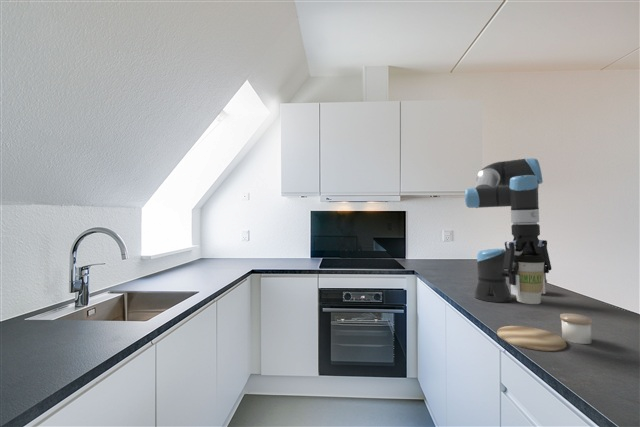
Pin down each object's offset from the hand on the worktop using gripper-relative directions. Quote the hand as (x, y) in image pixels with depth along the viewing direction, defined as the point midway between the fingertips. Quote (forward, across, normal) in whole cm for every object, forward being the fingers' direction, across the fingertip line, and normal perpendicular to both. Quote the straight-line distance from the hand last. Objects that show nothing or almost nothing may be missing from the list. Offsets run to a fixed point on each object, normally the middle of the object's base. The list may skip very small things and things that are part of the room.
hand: (528, 293), depth 95 cm
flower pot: (+15, +49, +45) cm, 68 cm away
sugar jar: (+14, +13, -4) cm, 20 cm away
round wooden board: (+14, 0, 0) cm, 14 cm away
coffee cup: (+3, 0, 0) cm, 3 cm away
